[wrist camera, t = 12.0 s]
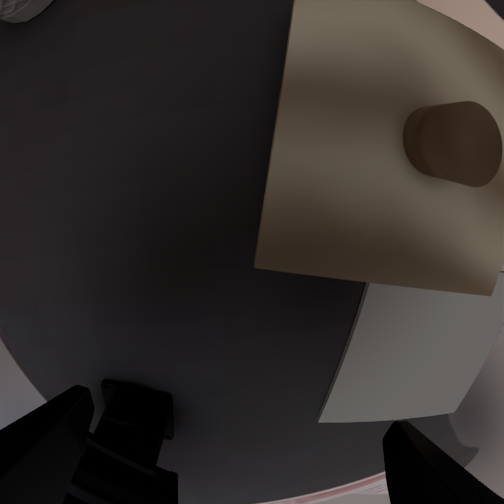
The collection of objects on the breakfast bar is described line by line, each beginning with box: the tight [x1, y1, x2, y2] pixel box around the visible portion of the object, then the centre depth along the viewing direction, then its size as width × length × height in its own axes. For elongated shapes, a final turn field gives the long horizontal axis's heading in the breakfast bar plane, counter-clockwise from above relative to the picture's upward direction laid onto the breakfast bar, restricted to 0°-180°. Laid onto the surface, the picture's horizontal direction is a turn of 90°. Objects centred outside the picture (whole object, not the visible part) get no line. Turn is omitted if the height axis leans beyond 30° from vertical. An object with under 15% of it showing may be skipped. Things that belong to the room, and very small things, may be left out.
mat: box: [317, 271, 504, 422], centre depth 22 cm, size 16×16×1 cm
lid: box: [254, 0, 504, 296], centre depth 11 cm, size 14×14×5 cm
